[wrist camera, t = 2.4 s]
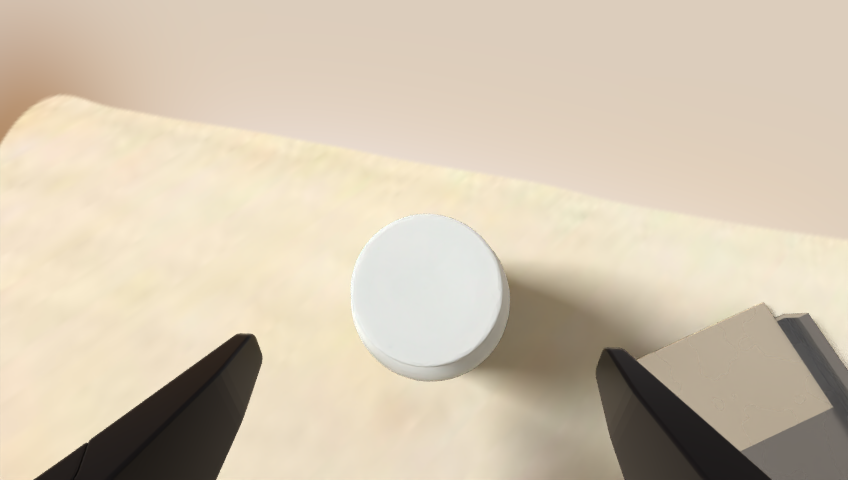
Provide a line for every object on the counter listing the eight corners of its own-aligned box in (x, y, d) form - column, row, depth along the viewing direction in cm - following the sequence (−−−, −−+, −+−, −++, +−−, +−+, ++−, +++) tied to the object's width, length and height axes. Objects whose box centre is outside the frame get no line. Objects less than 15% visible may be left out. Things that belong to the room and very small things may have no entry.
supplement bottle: (445, 385, 18) (446, 451, 8) (362, 318, 19) (279, 310, 9) (507, 296, 18) (572, 266, 9) (424, 236, 19) (406, 154, 10)
